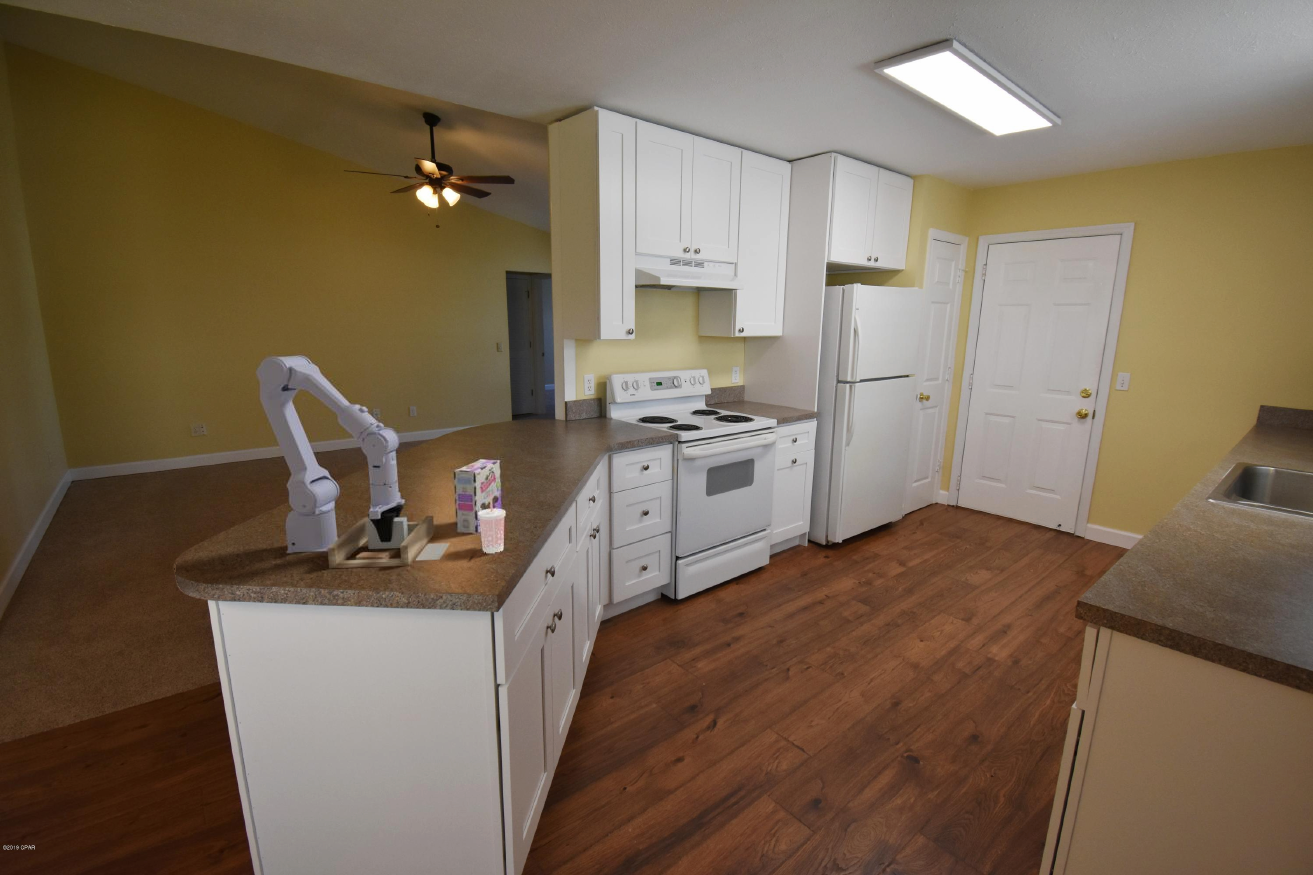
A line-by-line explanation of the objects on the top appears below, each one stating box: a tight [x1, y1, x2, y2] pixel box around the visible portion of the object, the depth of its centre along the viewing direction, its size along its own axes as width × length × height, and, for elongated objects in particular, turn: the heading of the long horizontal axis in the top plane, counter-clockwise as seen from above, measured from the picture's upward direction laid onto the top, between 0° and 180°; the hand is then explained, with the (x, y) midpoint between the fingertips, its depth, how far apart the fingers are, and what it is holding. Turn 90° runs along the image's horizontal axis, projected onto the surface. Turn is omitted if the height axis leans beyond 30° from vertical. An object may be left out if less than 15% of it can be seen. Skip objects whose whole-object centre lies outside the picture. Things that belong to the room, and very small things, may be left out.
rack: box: [327, 515, 435, 569], centre depth 129 cm, size 16×20×5 cm
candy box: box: [453, 458, 503, 535], centre depth 146 cm, size 14×6×16 cm, turn 168°
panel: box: [366, 516, 408, 550], centre depth 131 cm, size 8×2×7 cm, turn 97°
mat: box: [414, 542, 451, 562], centre depth 128 cm, size 5×10×1 cm, turn 7°
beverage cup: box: [478, 491, 506, 554], centre depth 130 cm, size 6×6×14 cm
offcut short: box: [355, 551, 390, 560], centre depth 124 cm, size 6×2×1 cm, turn 88°
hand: (388, 539), depth 131 cm, fingers closed on panel, 2 cm apart
